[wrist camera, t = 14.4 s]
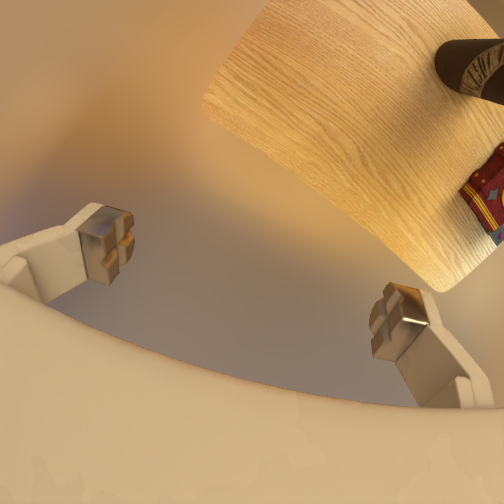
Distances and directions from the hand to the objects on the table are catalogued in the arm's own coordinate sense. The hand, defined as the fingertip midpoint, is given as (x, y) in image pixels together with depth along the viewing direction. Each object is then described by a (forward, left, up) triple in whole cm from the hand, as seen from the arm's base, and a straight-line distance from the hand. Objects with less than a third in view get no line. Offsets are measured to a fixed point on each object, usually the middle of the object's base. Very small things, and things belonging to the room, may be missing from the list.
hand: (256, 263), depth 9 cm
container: (-3, +25, -35) cm, 43 cm away
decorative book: (+16, +31, -35) cm, 50 cm away
